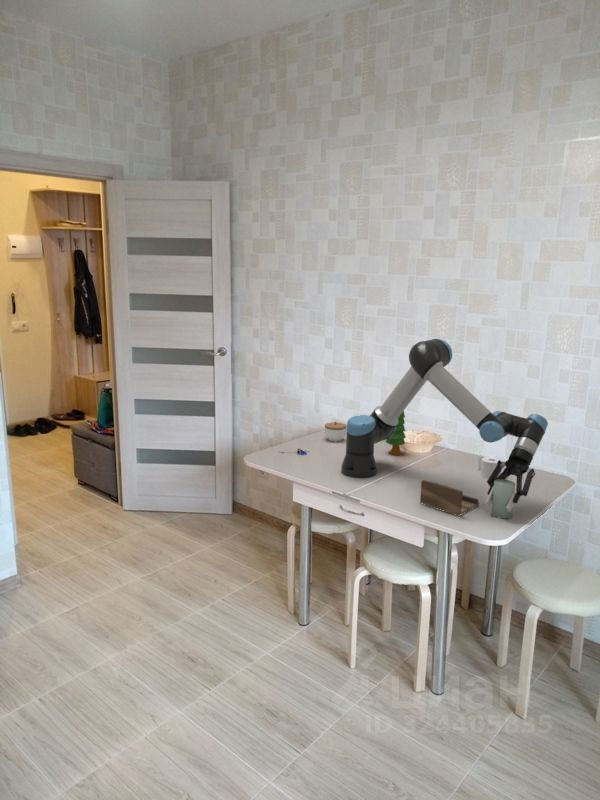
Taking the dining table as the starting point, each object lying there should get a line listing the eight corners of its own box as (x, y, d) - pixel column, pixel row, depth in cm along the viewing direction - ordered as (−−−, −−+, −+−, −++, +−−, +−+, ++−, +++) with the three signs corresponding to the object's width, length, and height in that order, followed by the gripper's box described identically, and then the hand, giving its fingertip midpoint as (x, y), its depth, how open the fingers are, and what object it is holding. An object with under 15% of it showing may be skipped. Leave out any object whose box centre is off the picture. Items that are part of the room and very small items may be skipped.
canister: (496, 518, 213) (499, 486, 211) (488, 510, 220) (491, 479, 217) (515, 518, 214) (518, 486, 211) (506, 510, 221) (510, 479, 218)
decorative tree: (392, 457, 281) (396, 392, 274) (380, 451, 288) (383, 389, 282) (409, 454, 285) (413, 391, 279) (396, 448, 293) (399, 387, 287)
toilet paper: (478, 469, 266) (480, 454, 264) (503, 475, 259) (505, 459, 257) (470, 474, 260) (471, 458, 258) (495, 480, 252) (497, 464, 251)
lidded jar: (346, 443, 301) (347, 424, 299) (325, 442, 301) (325, 424, 299) (344, 437, 312) (345, 419, 310) (323, 436, 311) (324, 419, 309)
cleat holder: (440, 494, 236) (442, 471, 234) (478, 505, 225) (480, 482, 223) (420, 503, 226) (421, 480, 224) (458, 516, 215) (460, 491, 213)
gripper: (552, 464, 217) (527, 520, 209) (500, 452, 231) (475, 503, 223) (548, 453, 212) (522, 509, 204) (494, 441, 226) (468, 493, 218)
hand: (497, 506), depth 214 cm, fingers closed on canister, 7 cm apart
